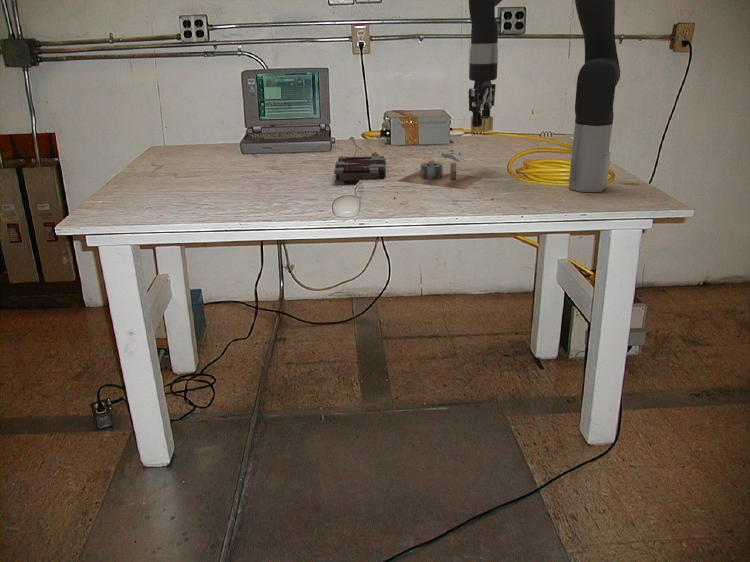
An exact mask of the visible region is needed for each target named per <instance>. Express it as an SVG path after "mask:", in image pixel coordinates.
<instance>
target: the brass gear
mask: <svg viewBox="0 0 750 562" xmlns="http://www.w3.org/2000/svg"><path fill="white" fill-rule="evenodd" d="M472 123H473V115H472V116H471V117H470V131H471V132H479V133H480V132H490V131H494V130H493V129H494V116H493V115H490V116H482V115H481V126H480V127H473V125H472Z"/></svg>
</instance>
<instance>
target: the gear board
mask: <svg viewBox="0 0 750 562" xmlns="http://www.w3.org/2000/svg"><path fill="white" fill-rule="evenodd" d="M428 163H429V166H434V163H435V160H429V161H428ZM449 172H450V173H449ZM449 172H443V174H442V177H440V179H432V180H429V179H422V177H420V169H419V170H417V171H415V172H412V173H411V174H409V175H406V176H404V177H402V178H400V179H398V180H397V182H403V183H411V184H419V185H429V186H434V187H435V186H436V187H444V188H451V189H458V190H465V189H467V188H468V187H470V186H472V185H474V184H475V183H476V182H478V181H480V180H482V179H483V178H484V177H483V176H476V175H466V174H460V173H459V174H458V173H457V163H456V162H451V163H450V171H449Z"/></svg>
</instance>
